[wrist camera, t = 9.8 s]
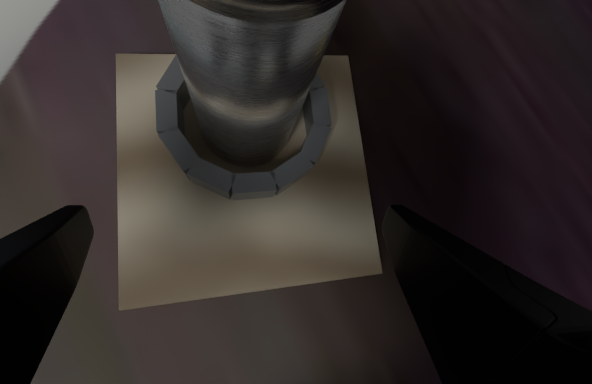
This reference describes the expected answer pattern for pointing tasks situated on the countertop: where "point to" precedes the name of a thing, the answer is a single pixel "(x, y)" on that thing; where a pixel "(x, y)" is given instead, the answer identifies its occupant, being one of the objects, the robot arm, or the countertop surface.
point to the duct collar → (219, 180)
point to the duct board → (235, 204)
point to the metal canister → (249, 68)
